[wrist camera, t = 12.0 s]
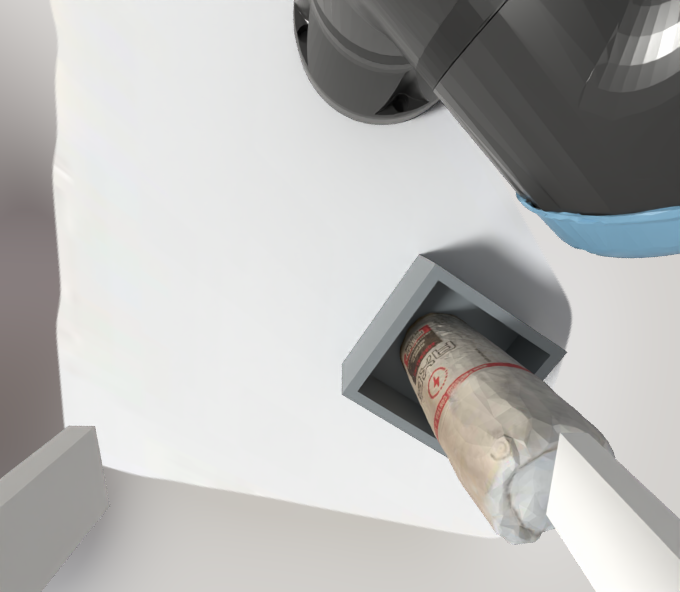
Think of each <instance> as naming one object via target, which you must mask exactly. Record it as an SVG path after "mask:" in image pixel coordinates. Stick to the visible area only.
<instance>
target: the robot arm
mask: <svg viewBox="0 0 680 592" xmlns="http://www.w3.org/2000/svg"><path fill="white" fill-rule="evenodd" d="M293 21H294V32H295V39H296V43H297V47H298V51H299V55H300V58H301V62H302V65H303V67H304V70H305V72H306V74H307V76H308V78H309V80H310V82H311V84H312V85H313V87H314V88H315V90H316V91H317V92H318V94H319V95H320V96H321V97H322V98H323V99H324V100H325V101H326V102H327V103H328V104H329V105H330V106H331V107H332V108H334V109H335V110H336V111H338V112H339V113H341V114H343V115H345V116H346V117H349V118H351V119H353V120H356V121H359V122H363V123H367V124H375V125H388V124H395V123H400V122H403V121H407V120H409V119H412V118H414V117H416V116H418V115H420V114H422V113H423V112H425V111H427V110H428V109H429V108H431V107H432V106H433V105H435V104H436V103H437V102H438V101H439V100H441V102H442V103H443V104H444V105H445V106H446V108H447V109H448V110H449V111H450V113H451V114H452V115H453V116H454V117H455V119H456V120H457V121H458V122H459V123H460V125H461V126H462V127H463V128H464V129H465V131H466V132H467V133H468V134H469V135H470V137H471V138H472V139H473V140H474V142H475V143H476V144H477V145H478V146H479V148H480V149H481V150H482V151H483V152H484V154H485V155H486V156H487V157H488V158H489V160H490V161H491V162H492V163H493V164H494V166H495V167H496V168H497V169H498V170H499V172H500V173H501V174H502V175H503V177H504V178H505V179H506V180H507V181H508V183H509V184H510V185H511V186H512V187H513V189H514V190H515V191H516V195H517V198H518V200H519V201H520V202H521V203H522V205H524V206H525V207H526V208H527V209H528V210H530V211H532V212H534V213H536V214H538V216H539V217H540V218H541V219H542V220H543V221H544V222H545V223H546V224H547V225H548V226H549V227H550V228H551V229H552V230H553V231H554V232H555V234H556V235H557V236H558V237H559V238H560V239H561V240H563V241H564V242H566V243H567V244H569V245H570V246H572V247H574V248H577V249H583V250H586V251H588V252H590V253H593V254H596V255H600V256H606V257H617V258H645V257H658V256H667V255H674V254H680V0H294V10H293ZM109 507H110V503H109V498H108V493H107V487H106V482H105V477H104V472H103V466H102V461H101V456H100V450H99V445H98V440H97V434H96V429H95V426H68V427H67V428H65V429H64V430H63V431H61V432H60V433H59V434H58V435H56V436H55V437H54V438H53V439H51V440H50V441H49V442H47V443H46V444H45V445H43V446H42V447H41V448H40V449H38V450H37V451H36V452H34V453H33V454H32V455H31V456H29V457H28V458H27V459H25V460H24V461H23V462H22V463H20V464H19V465H18V466H16V467H15V468H14V469H12V470H11V471H10V472H9V473H7V474H6V475H5V476H3V477H2V478H1V479H0V592H42V590H43V589H44V588H45V587H46V585H47V584H48V583H49V582H50V580H51V579H52V578H53V577H54V575H55V574H56V573H57V572H58V570H59V569H60V568H61V567H62V565H63V564H64V563H65V562H66V560H67V559H68V558H69V557H70V555H71V554H72V553H73V551H74V550H75V549H76V548H77V546H78V545H79V544H80V543H81V541H82V540H83V539H84V538H85V536H86V535H87V534H88V533H89V532H90V530H91V529H92V528H93V527H94V525H95V524H96V523H97V522H98V520H99V519H100V518H101V517H102V515H103V514H104V513H105V512H106V510H107V509H108V508H109ZM546 515H547V516H548V518H549V520H550V521H551V523H552V524H553V526H554V527H555V529H556V530H557V532H558V533H559V535H560V537H561V538H562V540H563V541H564V543H565V544H566V546H567V547H568V549H569V550H570V552H571V554H572V555H573V557H574V558H575V560H576V561H577V563H578V564H579V566H580V567H581V569H582V570H583V572H584V573H585V575H586V577H587V578H588V580H589V581H590V583H591V585H592V586H593V587H594V589H595V591H596V592H680V519H679V518H678V517H677V516H676V515H675V514H674V513H673V512H672V511H671V510H670V509H668V508H667V507H666V506H665V505H664V504H663V503H662V502H661V501H660V500H659V499H658V498H657V497H656V496H655V495H654V494H652V493H651V492H650V491H649V490H648V489H647V488H646V487H645V486H644V485H643V484H642V483H640V482H639V480H638V479H636V478H635V477H634V476H633V475H632V474H631V473H630V472H629V471H628V470H627V469H626V468H625V467H624V466H623V465H622V464H620V463H619V462H618V461H617V460H616V459H615V458H614V457H613V456H612V455H611V454H610V453H609V452H608V451H607V450H606V449H604V448H603V447H602V446H601V445H600V444H599V443H598V442H597V441H596V440H595V439H594V438H593V437H592V436H591V435H590V434H588V433H560V436H559V442H558V448H557V453H556V459H555V465H554V471H553V477H552V483H551V489H550V494H549V500H548V506H547V512H546Z"/></svg>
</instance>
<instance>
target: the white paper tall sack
mask: <svg viewBox="0 0 680 592" xmlns="http://www.w3.org/2000/svg"><path fill="white" fill-rule="evenodd" d="M400 360H401V363H402V365H403V367H404V370H405V371H406V373H407V375H408V377H409V380H410V382H411V384H412V387H413V389H414V391H415V393H416V395H417V398H418V400H419V402H420V404H421V406H422V408H423V411H424V413H425V415H426V418H427V420H428V422H429V424H430V426H431V428H432V430H433V433H434V435H435V436H436V438H437V440H438V442H439V443H440V445H441V447H442V448H443V450H444V452H445V453H446V455H447V457H448V459H449V461H450V463H451V465H452V467H453V469H454V471H455V473H456V475H457V477H458V479H459V480H460V482H461V484H462V485H463V487H464V488H465V490H466V491H467V492H468V494H469V495H470V497H471V498H472V499H473V501H474V502H475V503H476V505H477V506H478V508H479V509H480V510H481V512H482V513H483V515H484V516H485V517H486V519H487V520H488V522H489V523H490V525H491V526H492V528H493V530H494V531H495V533H496V534H498V535H500V536H502V537H503V538H504V539H505V540H506V541H507V542H508V543H510V544H514V545H516V544H523V543H533V542H535V541H536V540H538V539H539V537H540V536H541V533H542V532H545V531H548V530H551V529H555V527H554V526H553V524H552V523H551V521H550V520H549V518H548V516H547V515H546V512H547V506H548V500H549V494H550V489H551V483H552V477H553V471H554V465H555V459H556V453H557V448H558V442H559V436H560V433H588V434H590V435H591V436H592V437H593V438H594V439H595V440H596V441H597V442H598V443H599V444H600V445H601V446H602V447H603V448H604V449H606V450H607V451H608V452H609V453H610V454H611V455H612V456H613V457H614V458H615V456H614V452H613V450H612V448H611V446H610V445H609V442H608V441H607V440H606V439H605V437H604V436H603V434H602V433H601V432H600V431H599V430H598V429H597V428H596V427H595V426H594V425H592V424H591V423H590V422H589V421H588V420H586V419H585V418H584V417H583V416H582V415H581V414H580V413H579V412H578V411H577V410H575V409H574V408H573V407H572V406H570V405H569V404H568V403H567V402H566V401H564V400H563V399H562V398H561V397H559V396H558V395H557V394H556V393H555V392H554V391H553V390H552V389H551V388H550V387H549V386H548V385H547V384H546V383H545V382H544V381H542V380H541V379H540V378H539V377H537V376H536V375H534V374H533V373H532V372H530V371H529V370H528V369H526V368H525V367H524V366H522V365H521V364H520V363H518V362H517V361H516V360H515V359H513V358H512V357H510V356H509V355H508V354H507V353H506V352H504V351H503V350H502V349H500V348H499V347H498V346H496V345H495V344H494V343H492V342H491V341H490V340H488V339H487V338H485V337H484V336H483V335H481V334H480V333H479V332H478V331H477V330H475V329H474V328H472V327H470V326H469V325H468V324H467V323H466V322H464V321H463V320H461V319H459V318H458V317H457V316H455V315H452V314H444V313H429V314H426V315H424V316H422V317H419V318H418V319H417V320H416V321H415V322H414V323H413V324H412V325H411V326H410V327H409V329H408V330H407V332H406V335H405V337H404V340H403V342H402V344H401V346H400Z"/></svg>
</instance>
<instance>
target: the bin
mask: <svg viewBox="0 0 680 592" xmlns="http://www.w3.org/2000/svg"><path fill="white" fill-rule="evenodd" d="M429 313H444V314H452V315H455V316H457V317H458V318H459V319H461V320H463V321H464V322H466V323H467V324H468V325H469V326H470V327H472V328H474V329H475V330H477V331H478V332H479V333H480V334H481V335H483V336H484V337H485V338H487V339H488V340H490V341H491V342H492V343H494V344H495V345H496V346H498V347H499V348H500V349H502V350H503V351H504V352H506V353H507V354H508V355H509V356H510V357H512V358H513V359H515V360H516V361H517V362H518V363H520V364H521V365H522V366H524V367H525V368H526V369H528V370H529V371H530V372H532V373H533V374H534V375H536V376H537V377H539V378H540V379H541V380H542V381H543V380H544V379H545V378H546V376H547V375H548V374H549V373H550V372H551V371H552V369H553V368H554V367H555V366H556V365H557V364H558V362H559V361H560V360H561V359H562V358H563V357H564V355H565V354H566V353H567V352H566V351H565V350H563V349H562V348H561V347H559V346H558V345H556V344H555V343H553V342H552V341H550V340H549V339H547V338H546V337H544V336H543V335H541V334H540V333H538V332H537V331H535V330H534V329H532V328H531V327H529V326H528V325H526V324H525V323H523V322H522V321H520V320H519V319H518V318H516V317H515V316H513V315H512V314H510V313H509V312H507V311H506V310H504V309H503V308H501V307H500V306H498V305H497V304H495V303H494V302H492V301H491V300H489V299H488V298H486V297H485V296H483V295H482V294H480V293H479V292H477V291H476V290H475V289H473V288H472V287H470V286H469V285H467V284H466V283H464V282H463V281H461V280H460V279H458V278H457V277H455V276H454V275H452V274H451V273H449V272H448V271H446V270H445V269H443V268H442V267H440V266H439V265H437V264H436V263H434V262H432V261H430V260H429V259H427V258H425V257H423V256H421V255H418V257H417V258H416V260H415V261H414V263H413V264H412V265H411V267H410V268H409V270H408V271H407V272H406V274H405V275H404V277H403V278H402V280H401V281H400V282H399V284H398V285H397V287H396V288H395V290H394V291H393V292H392V294H391V295H390V297H389V298H388V299H387V301H386V302H385V304H384V305H383V307H382V308H381V309H380V311H379V312H378V314H377V315H376V317H375V318H374V319H373V321H372V322H371V324H370V325H369V326H368V328H367V329H366V331H365V332H364V334H363V335H362V336H361V338H360V339H359V341H358V342H357V344H356V345H355V346H354V348H353V349H352V351H351V352H350V353H349V355H348V356H347V358H346V359H345V361H344V362H343V363H342V395H344V396H345V397H347V398H349V399H350V400H352V401H354V402H355V403H357V404H359V405H360V406H362V407H364V408H365V409H367V410H369V411H370V412H372V413H374V414H375V415H377V416H379V417H380V418H382V419H384V420H385V421H387V422H389V423H390V424H392V425H394V426H395V427H397V428H399V429H400V430H402V431H404V432H405V433H407V434H409V435H410V436H412V437H414V438H416V439H417V440H419V441H421V442H422V443H424V444H426V445H427V446H429V447H431V448H432V449H434V450H436V451H437V452H439V453H441V454H442V455H444V456H446V457H447V455H446V453H445V452H444V450H443V448H442V447H441V445H440V443H439V442H438V440H437V438H436V436H435V435H434V433H433V430H432V428H431V426H430V424H429V422H428V420H427V418H426V415H425V413H424V411H423V408H422V406H421V404H420V402H419V400H418V398H417V395H416V393H415V391H414V389H413V387H412V384H411V382H410V380H409V377H408V375H407V373H406V371H405V370H404V367H403V365H402V363H401V360H400V346H401V344H402V342H403V340H404V337H405V335H406V332H407V330H408V329H409V327H410V326H411V325H412V324H413V323H414V322H415V321H416V320H417V319H418V318H419V317H422V316H424V315H426V314H429ZM447 458H448V457H447Z"/></svg>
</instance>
